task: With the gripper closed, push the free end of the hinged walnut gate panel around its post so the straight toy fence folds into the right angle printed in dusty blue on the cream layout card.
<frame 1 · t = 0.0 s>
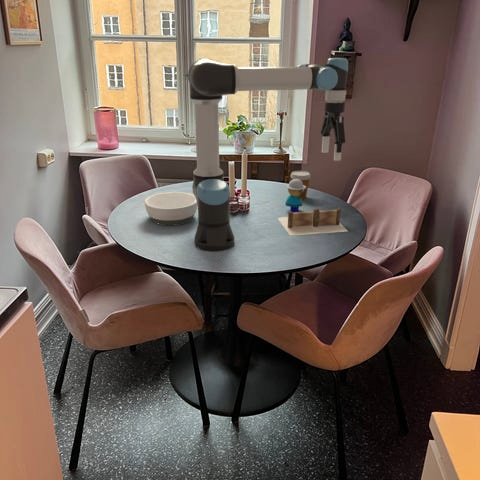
hand: (330, 156, 193), 28 cm above the table, fingers open, 13 cm apart
disposable coffee cup: (299, 197, 234), on the table
toy: (294, 212, 216), on the table
fence fixed: (315, 226, 199), resting on layout card
bowl: (172, 218, 208), on the table
fence gate: (300, 218, 196), point 4 cm above the table, hinge at 0.0°
layout card: (311, 225, 201), on the table
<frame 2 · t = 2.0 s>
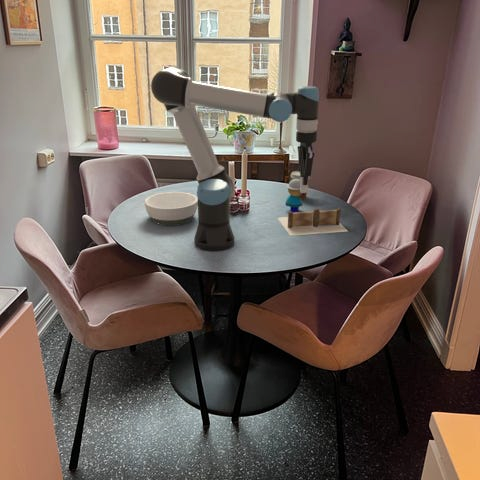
hand: (303, 192, 187), 17 cm above the table, fingers closed
nothing on the table moved.
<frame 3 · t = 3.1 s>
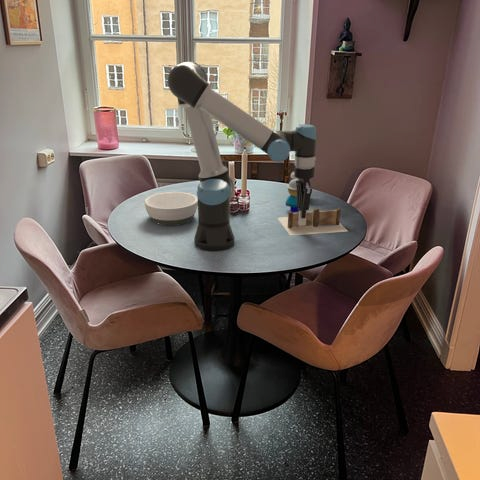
hand: (302, 224, 192), 3 cm above the table, fingers closed
nothing on the table moved.
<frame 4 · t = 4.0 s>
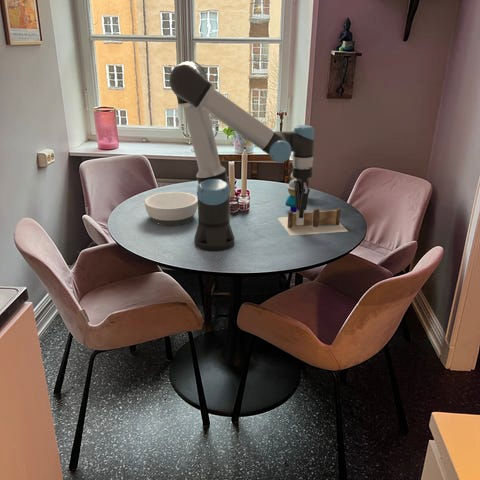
hand: (299, 224, 194), 2 cm above the table, fingers closed
fence gate: (300, 218, 196), point 4 cm above the table, hinge at -0.8°, touching gripper
everything else where it was.
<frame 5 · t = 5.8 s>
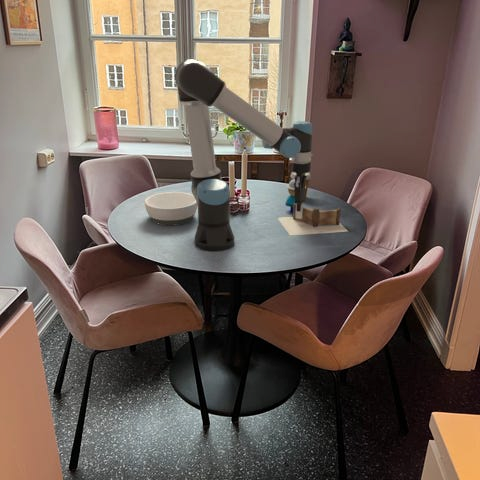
hand: (298, 217, 201), 3 cm above the table, fingers closed
fence gate: (303, 213, 202), point 4 cm above the table, hinge at -56.8°, touching gripper
everything else where it was.
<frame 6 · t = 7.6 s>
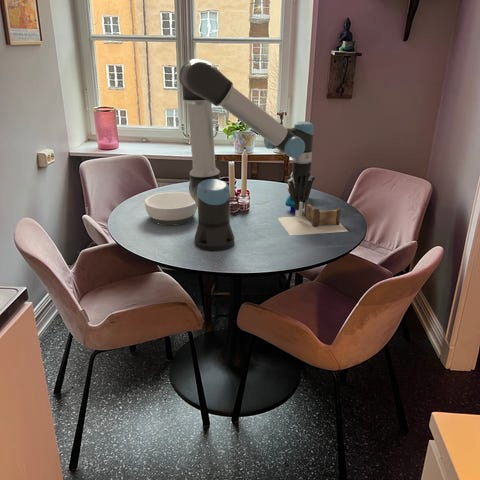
hand: (298, 216, 204), 2 cm above the table, fingers closed
fence gate: (310, 212, 203), point 4 cm above the table, hinge at -88.1°
everything else where it was.
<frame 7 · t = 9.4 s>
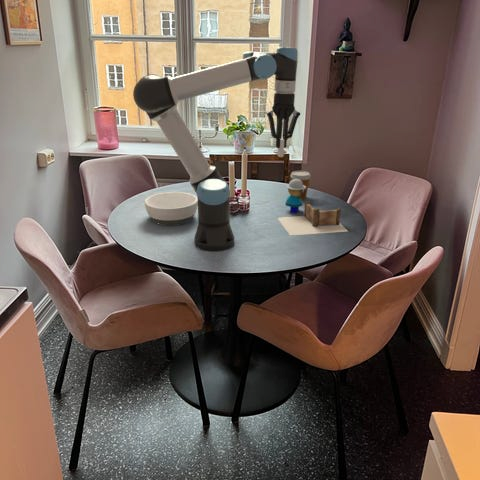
hand: (280, 156, 186), 30 cm above the table, fingers closed
nothing on the table moved.
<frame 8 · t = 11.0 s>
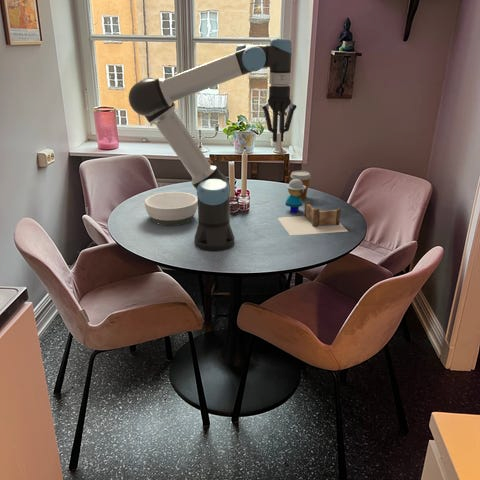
hand: (277, 150, 183), 32 cm above the table, fingers closed
nothing on the table moved.
at the end: fence gate at -88° (first picture: +0°); fence gate touching nothing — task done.
